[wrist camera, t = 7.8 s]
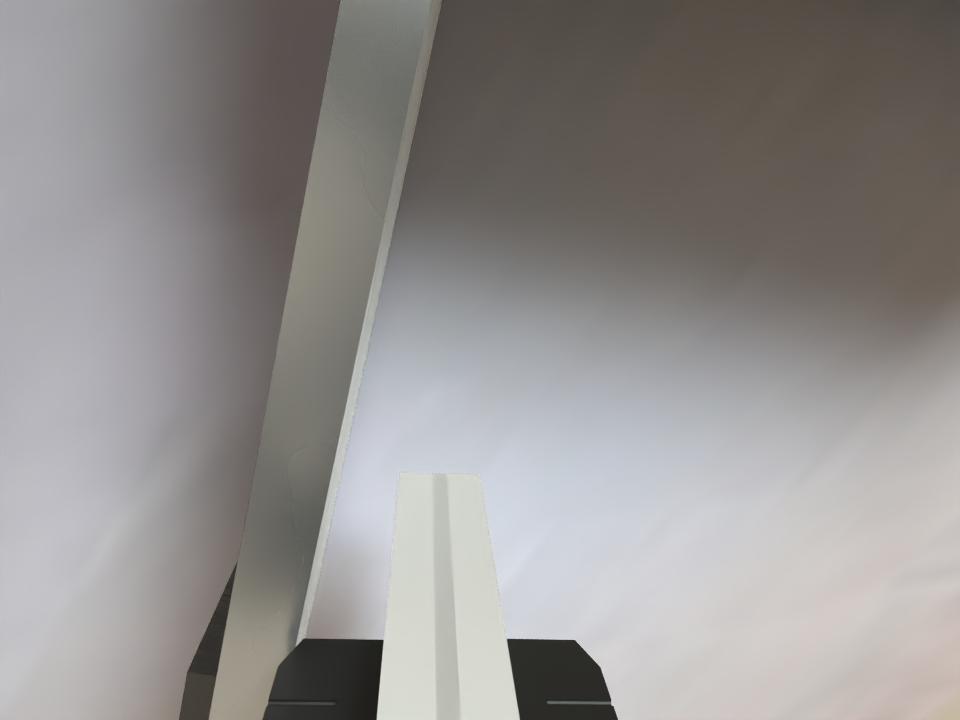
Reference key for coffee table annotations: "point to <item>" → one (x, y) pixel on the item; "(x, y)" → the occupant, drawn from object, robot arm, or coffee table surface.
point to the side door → (318, 351)
